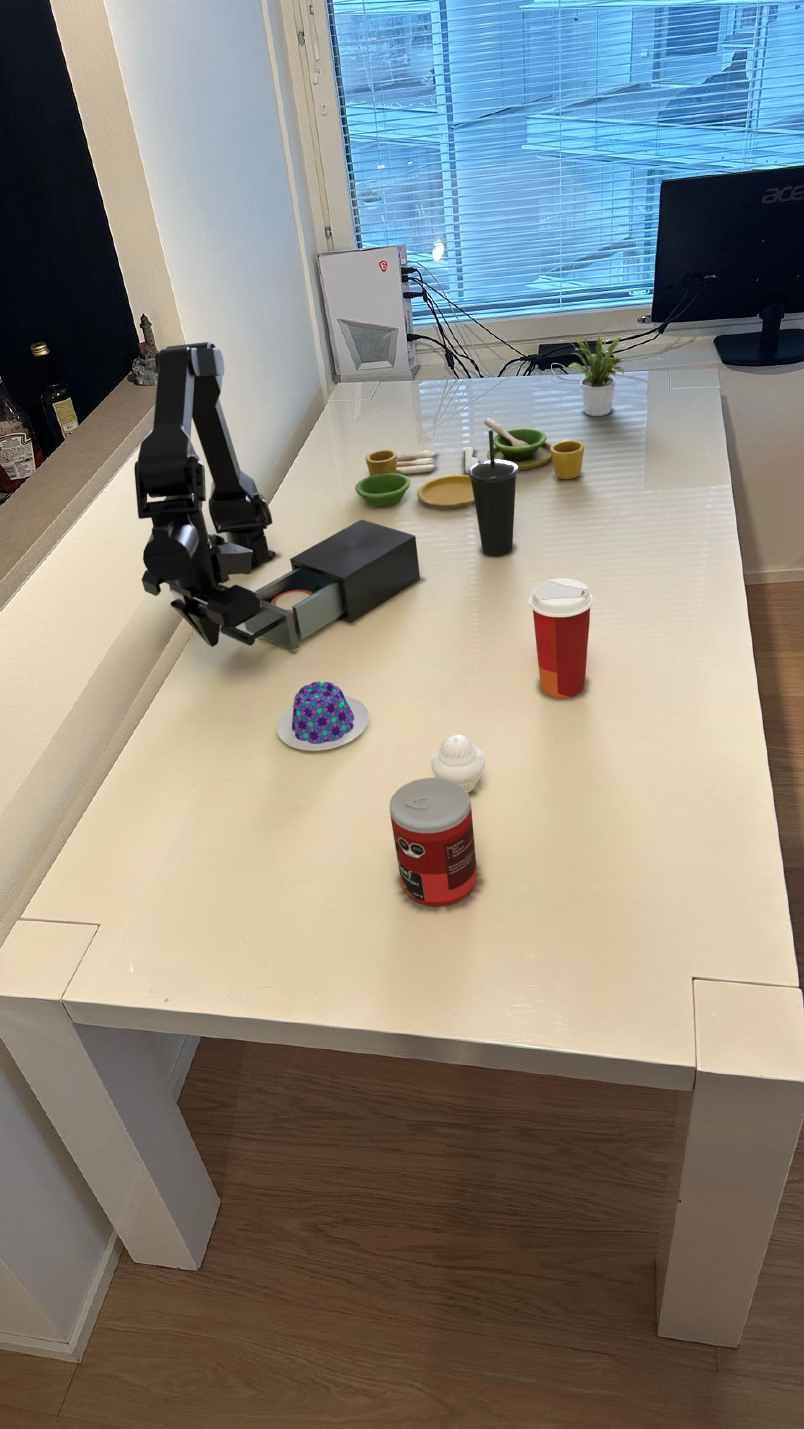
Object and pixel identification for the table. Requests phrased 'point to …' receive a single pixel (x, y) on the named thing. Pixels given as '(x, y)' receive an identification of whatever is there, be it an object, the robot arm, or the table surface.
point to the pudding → (322, 718)
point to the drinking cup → (494, 502)
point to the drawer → (307, 613)
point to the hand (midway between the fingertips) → (213, 644)
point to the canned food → (434, 840)
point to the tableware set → (457, 489)
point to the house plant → (598, 377)
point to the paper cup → (561, 635)
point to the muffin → (459, 762)
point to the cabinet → (364, 564)
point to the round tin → (290, 599)
